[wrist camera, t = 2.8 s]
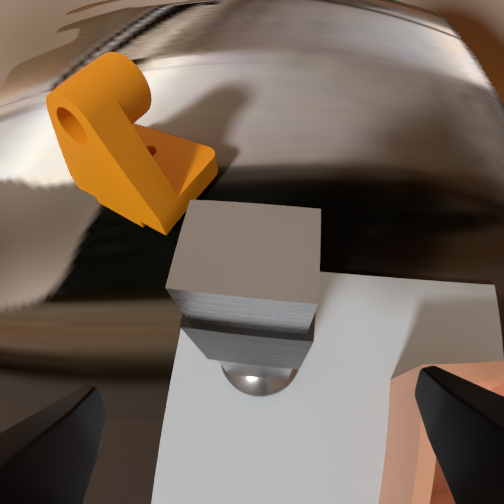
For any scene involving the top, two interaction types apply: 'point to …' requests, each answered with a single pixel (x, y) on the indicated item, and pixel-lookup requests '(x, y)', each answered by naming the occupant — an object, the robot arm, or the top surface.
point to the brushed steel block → (249, 288)
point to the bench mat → (318, 396)
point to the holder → (422, 437)
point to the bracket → (126, 145)
